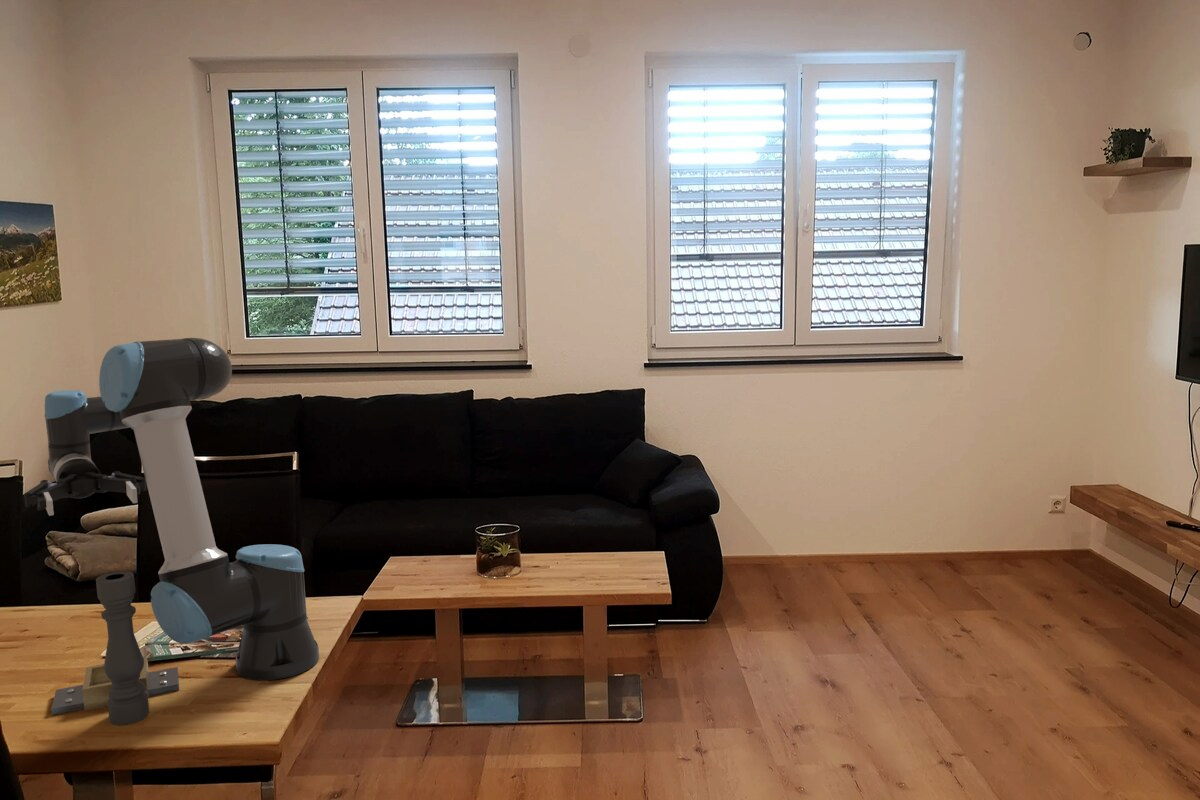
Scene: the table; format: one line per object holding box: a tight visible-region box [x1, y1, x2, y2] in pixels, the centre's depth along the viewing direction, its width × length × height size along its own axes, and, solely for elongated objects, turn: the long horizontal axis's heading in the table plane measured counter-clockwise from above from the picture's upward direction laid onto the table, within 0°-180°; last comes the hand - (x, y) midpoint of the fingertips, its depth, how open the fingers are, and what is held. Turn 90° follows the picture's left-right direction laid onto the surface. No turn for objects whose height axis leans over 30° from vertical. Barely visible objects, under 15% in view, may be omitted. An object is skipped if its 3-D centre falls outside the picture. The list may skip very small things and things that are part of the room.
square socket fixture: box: [51, 655, 180, 716], centre depth 167 cm, size 20×10×4 cm, turn 115°
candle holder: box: [95, 570, 151, 726], centre depth 157 cm, size 6×6×25 cm
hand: (93, 502), depth 168 cm, fingers open, 13 cm apart
